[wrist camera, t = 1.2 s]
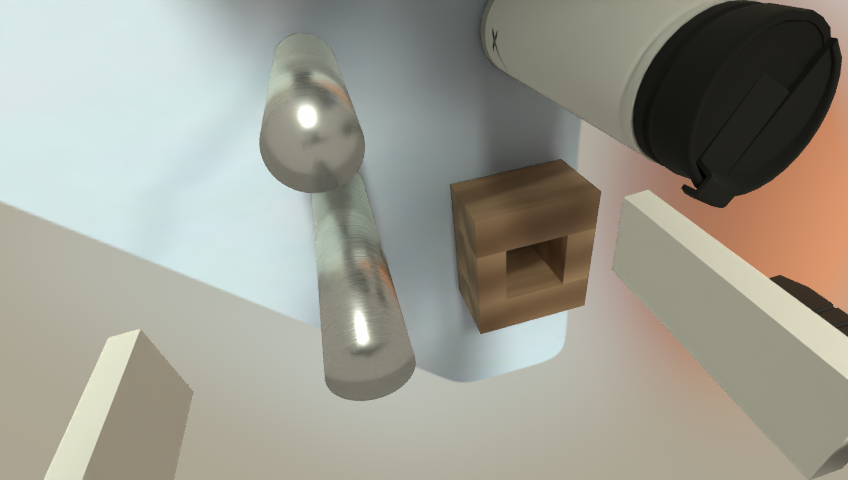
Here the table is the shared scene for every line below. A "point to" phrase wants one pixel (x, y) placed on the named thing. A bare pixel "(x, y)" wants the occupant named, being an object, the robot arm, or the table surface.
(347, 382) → the pin long
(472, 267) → the hole block
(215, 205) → the table surface
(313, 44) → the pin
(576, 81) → the travel mug
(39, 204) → the table surface
